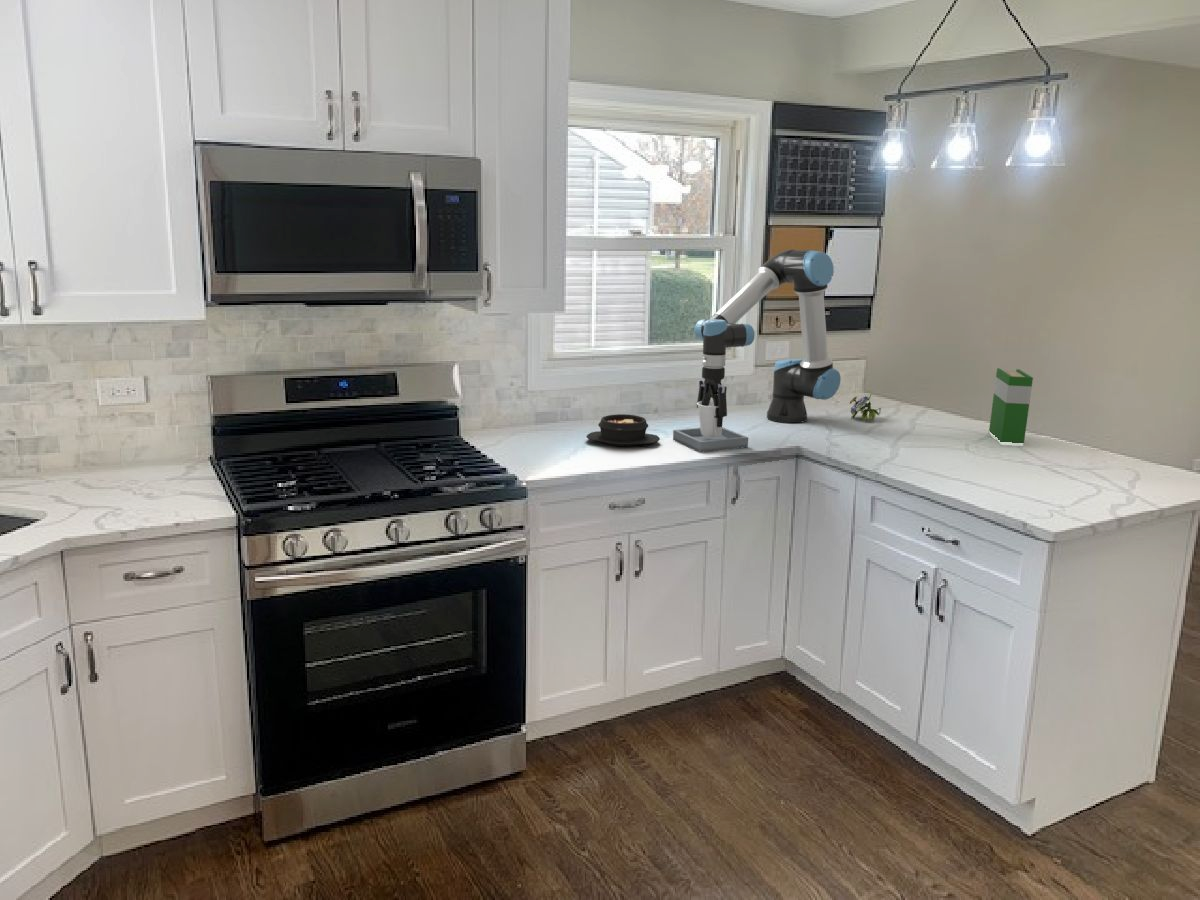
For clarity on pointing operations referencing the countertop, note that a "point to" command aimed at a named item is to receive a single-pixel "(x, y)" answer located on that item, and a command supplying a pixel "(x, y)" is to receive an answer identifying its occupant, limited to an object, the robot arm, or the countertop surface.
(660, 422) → the countertop surface
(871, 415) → the passion flower
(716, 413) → the robot arm
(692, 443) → the tray
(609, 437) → the casserole
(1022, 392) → the hardback book
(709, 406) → the cup
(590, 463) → the countertop surface
